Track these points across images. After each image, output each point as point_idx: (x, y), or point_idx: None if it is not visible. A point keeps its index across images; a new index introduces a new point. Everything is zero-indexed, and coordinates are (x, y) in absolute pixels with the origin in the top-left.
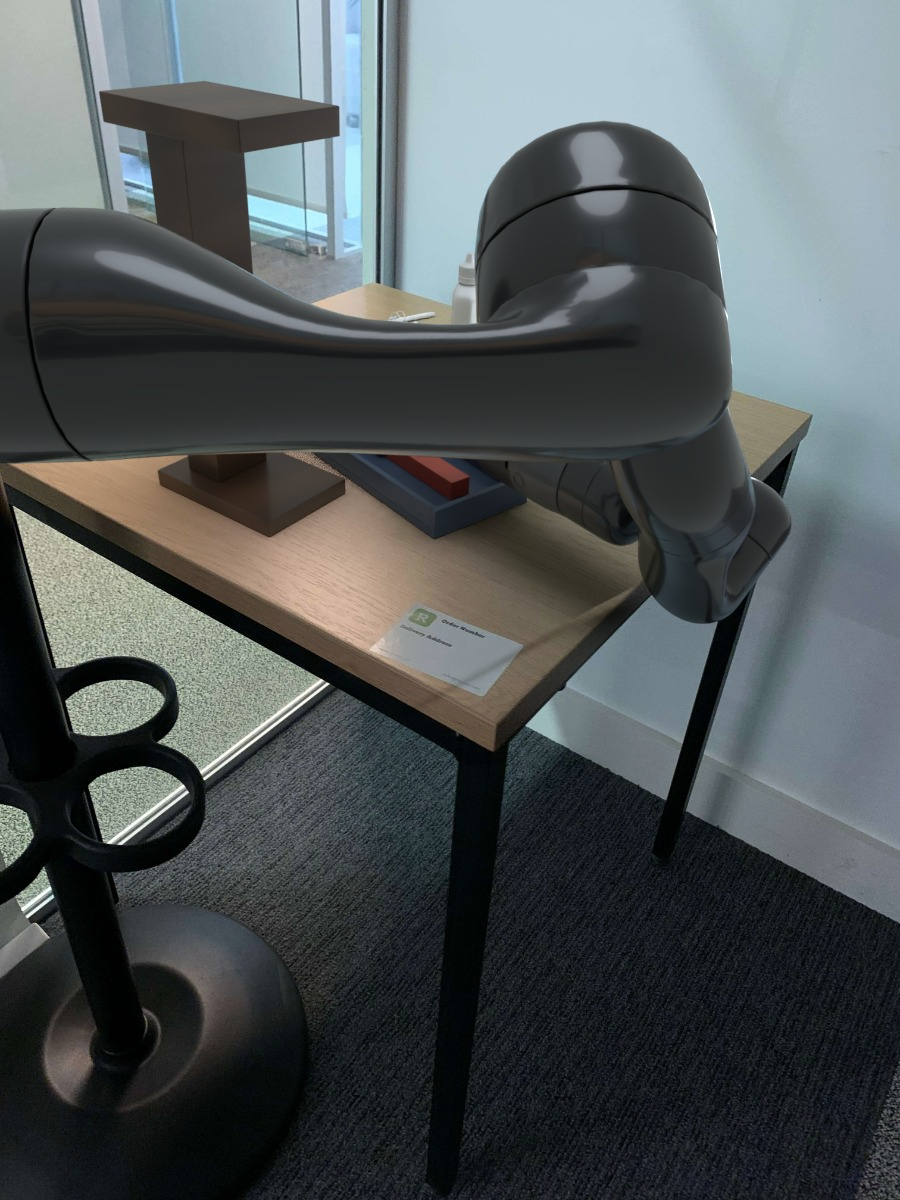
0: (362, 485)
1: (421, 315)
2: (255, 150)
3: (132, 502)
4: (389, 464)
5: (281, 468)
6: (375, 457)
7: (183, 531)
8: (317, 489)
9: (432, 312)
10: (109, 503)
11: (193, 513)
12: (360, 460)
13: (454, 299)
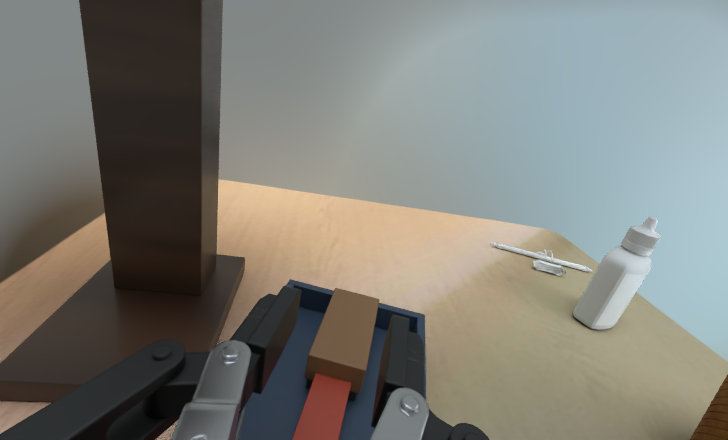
0: None
1: (574, 265)
2: None
3: (77, 258)
4: (296, 410)
5: (183, 315)
6: (302, 382)
7: (2, 313)
8: None
9: (588, 268)
10: (70, 248)
11: (62, 301)
12: None
13: (603, 259)
